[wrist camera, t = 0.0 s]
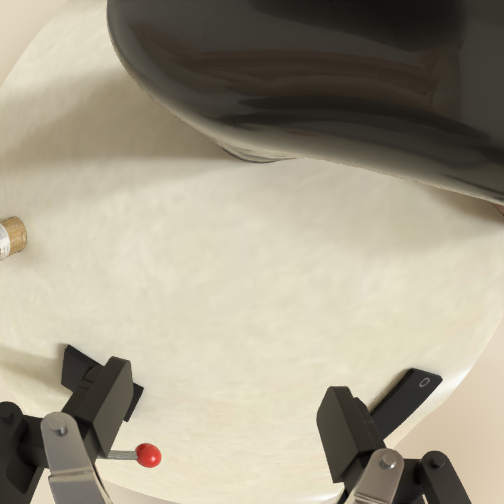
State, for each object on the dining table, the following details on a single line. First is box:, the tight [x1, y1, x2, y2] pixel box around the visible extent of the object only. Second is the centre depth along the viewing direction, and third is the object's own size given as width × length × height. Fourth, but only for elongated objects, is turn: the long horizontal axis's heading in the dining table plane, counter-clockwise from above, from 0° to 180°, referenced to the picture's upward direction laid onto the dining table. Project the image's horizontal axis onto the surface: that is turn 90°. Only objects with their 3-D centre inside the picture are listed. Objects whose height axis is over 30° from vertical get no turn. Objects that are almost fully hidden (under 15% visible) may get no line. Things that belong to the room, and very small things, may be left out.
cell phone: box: [370, 368, 443, 440], centre depth 34 cm, size 9×18×1 cm, turn 154°
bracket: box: [61, 345, 144, 422], centre depth 25 cm, size 12×9×15 cm
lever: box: [97, 443, 161, 468], centre depth 23 cm, size 14×4×4 cm, turn 60°
